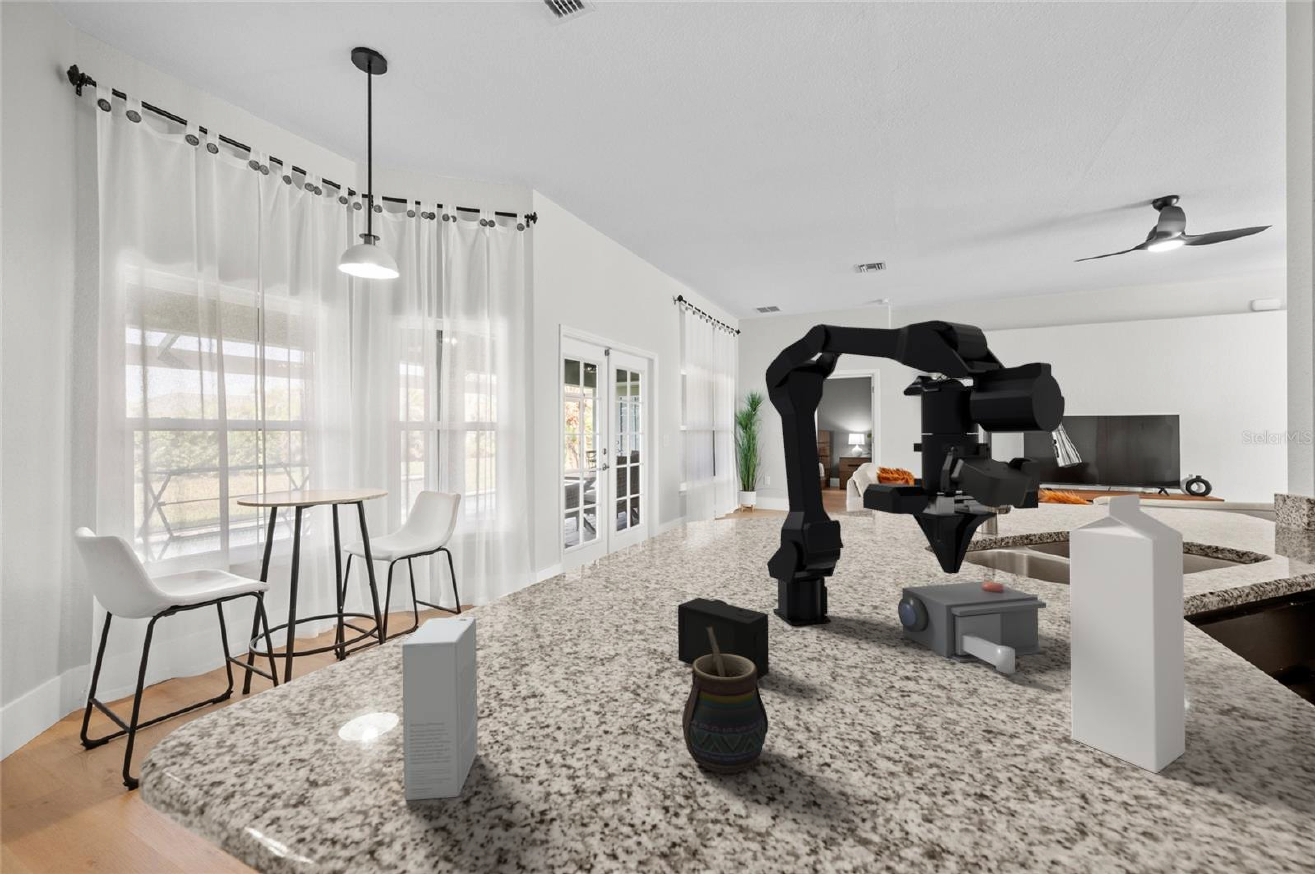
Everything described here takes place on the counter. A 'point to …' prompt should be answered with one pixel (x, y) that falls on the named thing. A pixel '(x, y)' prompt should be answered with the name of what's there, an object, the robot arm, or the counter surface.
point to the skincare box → (439, 707)
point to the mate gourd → (724, 712)
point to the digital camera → (723, 632)
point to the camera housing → (937, 605)
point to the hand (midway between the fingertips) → (950, 572)
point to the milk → (1128, 636)
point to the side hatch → (984, 640)
